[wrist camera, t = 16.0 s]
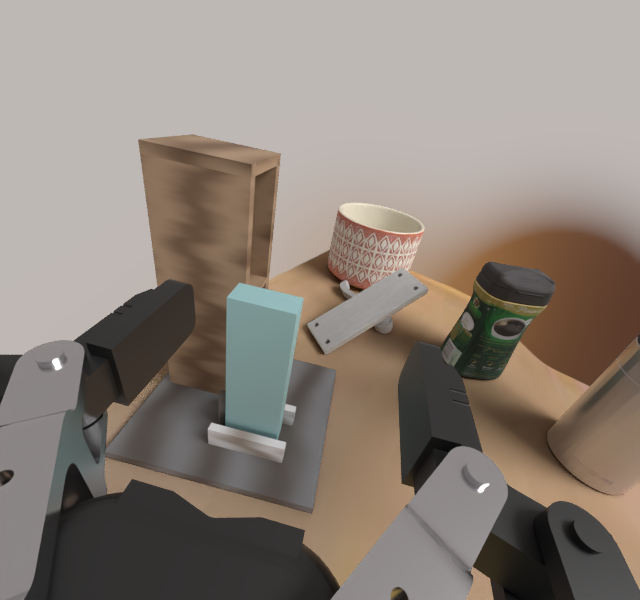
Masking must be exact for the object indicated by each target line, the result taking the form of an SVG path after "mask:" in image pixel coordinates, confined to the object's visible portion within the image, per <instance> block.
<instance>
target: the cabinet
mask: <svg viewBox="0 0 640 600" xmlns="http://www.w3.org/2000/svg"><path fill="white" fill-rule="evenodd" d="M138 141H139V148H140V155H141V163H142V171H143V179H144V185H145V186H144V187H145V194H146V202H147V209H148V217H149V225H150V232H151V239H152V247H153V255H154V262H155V269H156V278H157V285H158V286H159V285H161V284H162V283H163V282H165V281H166V280H168V279H172V280H176V281H180V282H184V283H188V284H191V285H192V287H193V290H194V302H195V315H196V322H195V326H194V329H193V331H192V333H191V335H190V336H189V337H188V338H187V339H186V340H185V342H184V343H183V344H182V345H181V346H180V347H179V348H178V350H177V351H176V352H175V353H174V354H173V355H172V356H171V358H170V359H169V360H168V369H169V373H168V374H167V375H166V376H165V378H164V379H163V380H162V381H161V382H160V384H159V385H158V386H157V387H156V389H155V390H154V391H153V392H152V393H151V395H150V396H149V397H148V398H147V399H146V401H145V402H144V403H143V404H142V406H141V407H140V408H139V409H138V410H137V412H136V413H135V414H134V415H133V416H132V418H131V419H130V420H129V421H128V423H127V424H126V425H125V426H124V427H123V429H122V430H121V431H120V432H119V433H118V435H117V436H116V437H115V438H114V440H113V441H112V442H111V443H110V444H109V446H108V447H107V448H106V450H105V456H106V457H108V458H111V459H115V460H119V461H122V462H126V463H130V464H133V465H137V466H141V467H144V468H148V469H152V470H155V471H159V472H162V473H166V474H170V475H173V476H177V477H181V478H184V479H188V480H192V481H195V482H199V483H203V484H206V485H210V486H214V487H217V488H221V489H225V490H228V491H232V492H235V493H239V494H243V495H246V496H250V497H254V498H257V499H261V500H265V501H268V502H272V503H276V504H279V505H283V506H287V507H290V508H294V509H297V510H301V511H305V512H308V513H312V510H313V506H314V500H315V494H316V488H317V482H318V476H319V470H320V464H321V458H322V452H323V446H324V440H325V434H326V428H327V422H328V416H329V410H330V405H331V399H332V393H333V387H334V381H335V375H336V370H334V369H330V368H326V367H322V366H318V365H314V364H310V363H306V362H302V361H298V360H294V359H293V363H292V369H291V374H290V380H289V386H288V392H287V398H286V403H285V409H284V415H283V421H282V426H281V431H280V434H279V437H278V440H276V439H272V438H268V437H264V436H261V435H257V434H253V433H249V432H245V431H242V430H238V429H234V428H230V427H226V426H225V411H226V316H227V297H228V295H229V294H230V293H231V292H232V291H233V289H234V288H235V287H236V286H237V285H238V284H239V283H243V284H247V285H251V286H256V287H260V288H264V289H268V281H269V271H270V260H271V250H272V239H273V229H274V218H275V207H276V197H277V186H278V176H279V166H280V156H281V154H280V153H275V152H271V151H266V150H261V149H257V148H252V147H248V146H243V145H238V144H234V143H229V142H224V141H219V140H215V139H211V138H206V137H201V136H196V135H182V136H172V137H161V138H149V139H139V140H138Z"/></svg>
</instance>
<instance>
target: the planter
mask: <svg viewBox="0 0 640 600" xmlns="http://www.w3.org/2000/svg"><path fill="white" fill-rule="evenodd" d="M424 230H425V228H424V225H423V224H422V223H421V222H420V221H419V220H417V219H416V218H414V217H412V216H410V215H408V214H406V213H403V212H400V211H398V210H394V209H391V208H388V207H384V206H379V205H374V204H367V203H345V204H342V205H340V207H339V208H338V214H337V218H336V223H335V228H334V232H333V237H332V242H331V247H330V252H329V257H328V261H327V265H328V268H329V270H330V271H331V272H332V273H333V274H334V275H335V276H336V277H338V278H339V279H340V280H341V281H344V280H347V281H348V283H349V285H350V286H352V287H355V288H357V289H361V290H365V289H367V288H368V287H370V286H372V285H373V284H375V283H377V282H378V281H380V280H382V279H384V278H385V277H387V276H389V275H390V274H392V273H394V272H395V271H397V270H399V269H400V268H403V269H405V270H406V271H407V272H408V273H409V270H410V267H411V265H412V262H413V259H414V256H415V254H416V251H417V249H418V246H419V243H420V240H421V238H422V235H423V232H424Z"/></svg>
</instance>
